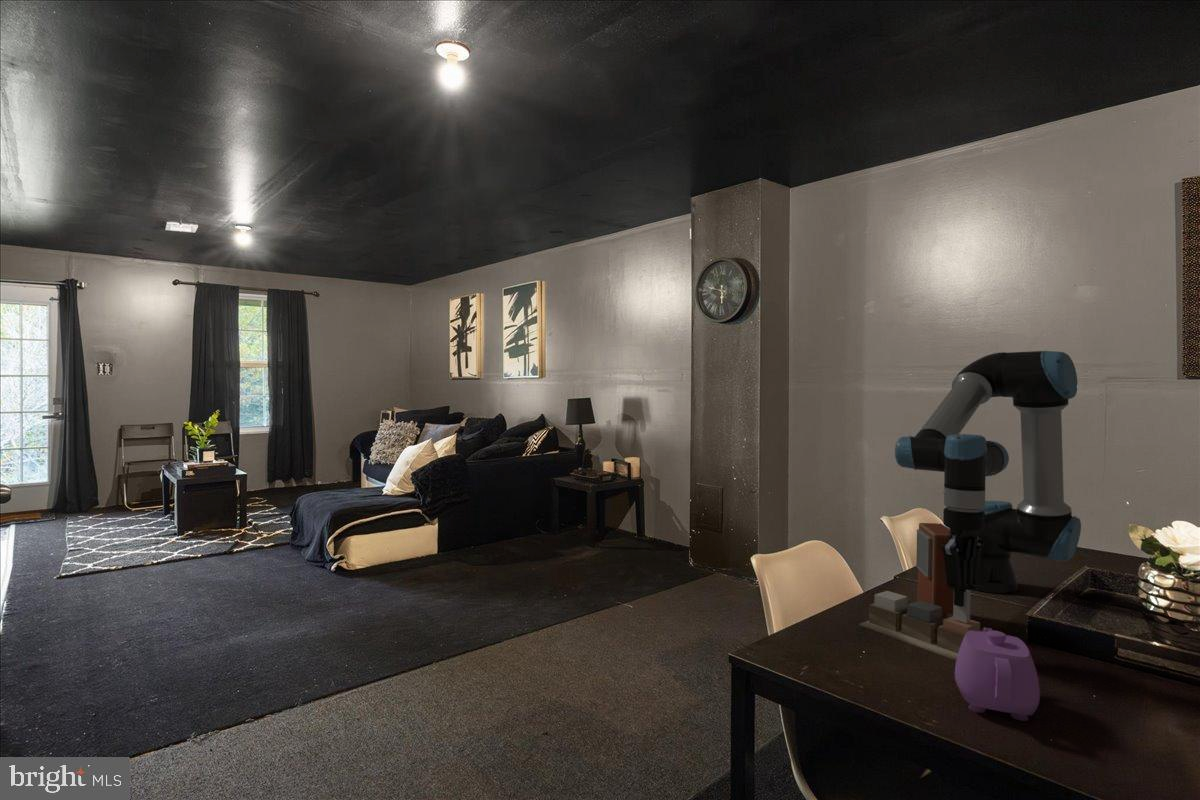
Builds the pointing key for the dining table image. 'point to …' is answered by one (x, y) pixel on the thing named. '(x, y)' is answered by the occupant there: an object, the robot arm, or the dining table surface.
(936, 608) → the graphite key
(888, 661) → the dining table surface
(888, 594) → the ivory key
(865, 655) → the dining table surface
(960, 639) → the keypad board
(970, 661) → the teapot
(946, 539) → the terracotta and grey box
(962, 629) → the terracotta key
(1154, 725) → the dining table surface
